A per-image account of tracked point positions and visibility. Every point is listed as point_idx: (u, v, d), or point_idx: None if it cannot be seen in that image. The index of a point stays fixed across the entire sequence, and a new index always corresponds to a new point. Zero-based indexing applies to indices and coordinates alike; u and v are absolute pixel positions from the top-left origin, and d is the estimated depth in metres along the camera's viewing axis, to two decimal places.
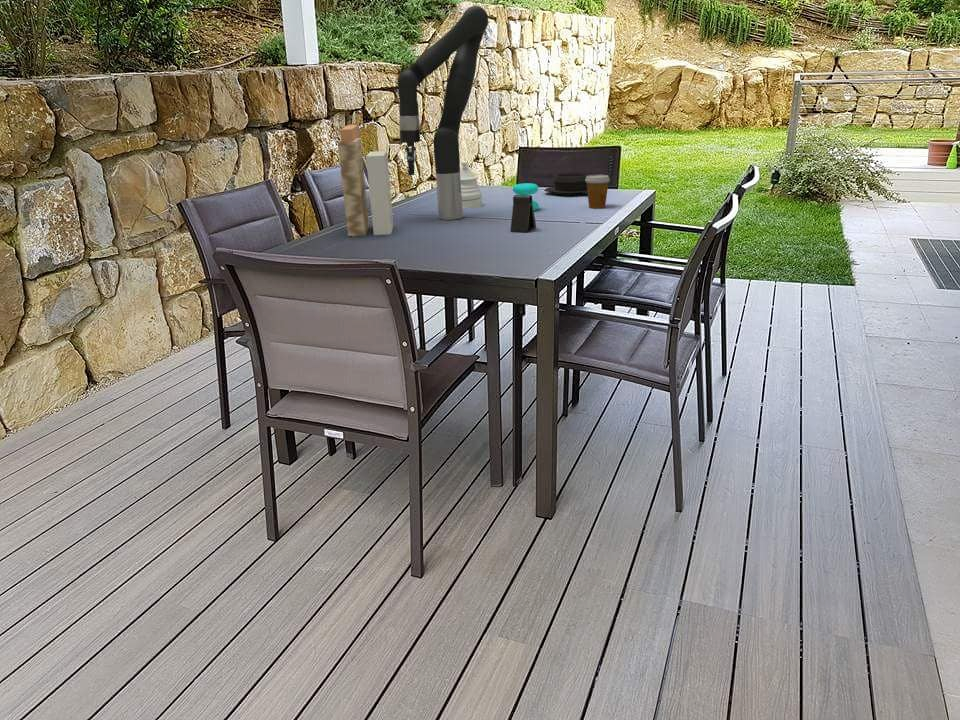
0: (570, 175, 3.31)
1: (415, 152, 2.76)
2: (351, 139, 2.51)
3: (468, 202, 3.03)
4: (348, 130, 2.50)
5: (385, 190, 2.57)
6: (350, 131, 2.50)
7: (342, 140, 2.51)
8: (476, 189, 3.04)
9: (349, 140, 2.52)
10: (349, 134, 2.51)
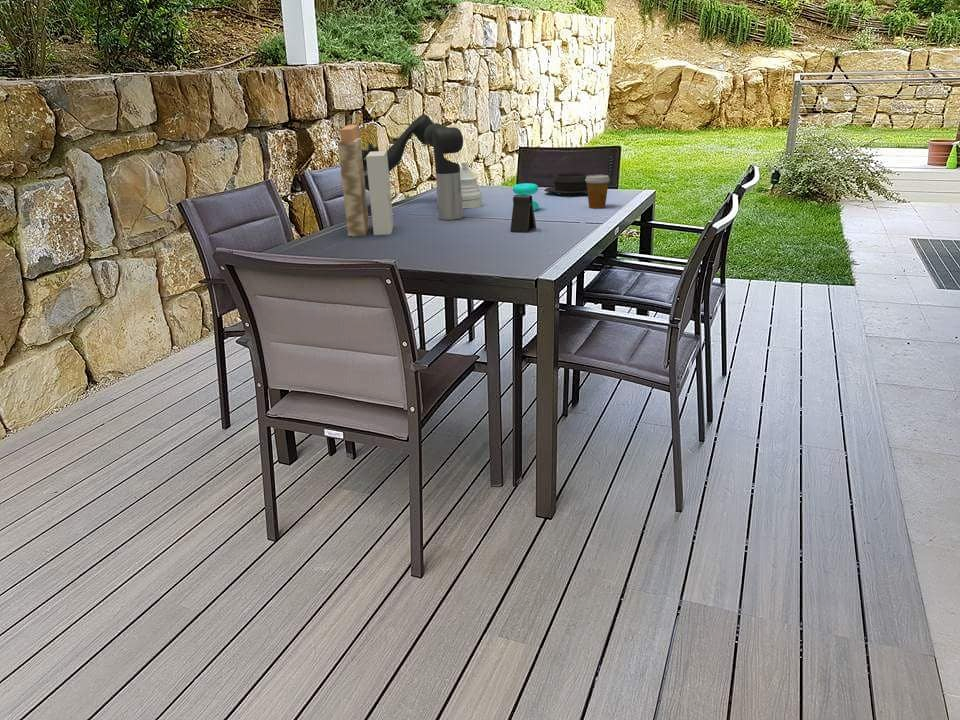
0: (570, 175, 3.31)
1: (364, 158, 2.90)
2: (351, 139, 2.51)
3: (468, 202, 3.03)
4: (348, 130, 2.50)
5: (385, 190, 2.57)
6: (350, 131, 2.50)
7: (342, 140, 2.51)
8: (476, 189, 3.04)
9: (349, 140, 2.52)
10: (349, 134, 2.51)
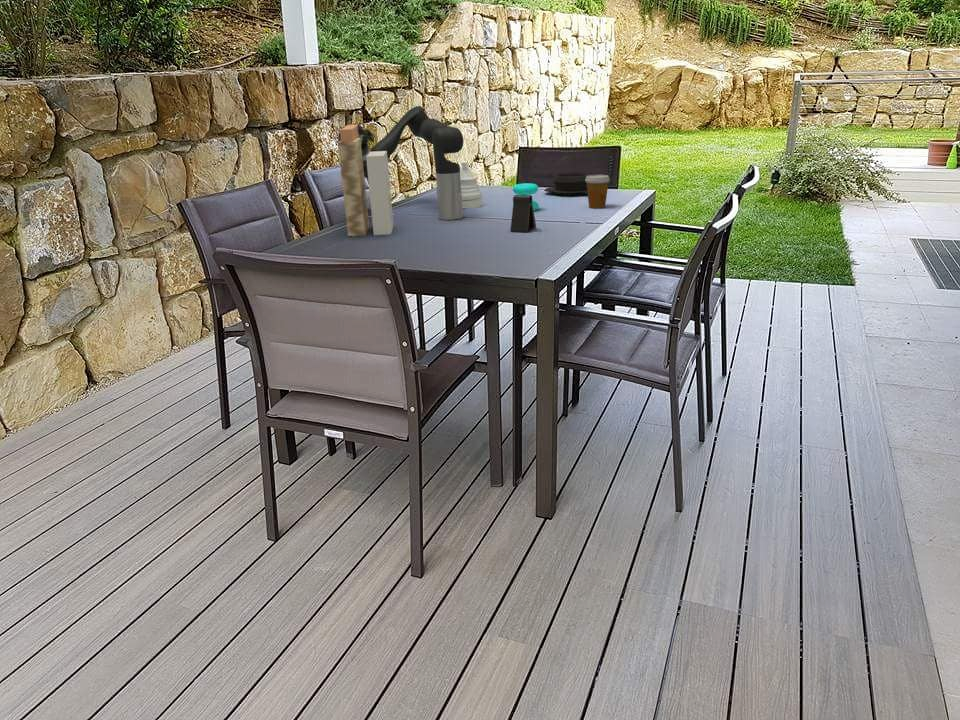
0: (570, 175, 3.31)
1: None
2: (351, 139, 2.51)
3: (468, 202, 3.03)
4: (348, 130, 2.50)
5: (385, 190, 2.57)
6: (350, 131, 2.50)
7: (342, 140, 2.51)
8: (476, 189, 3.04)
9: (349, 140, 2.52)
10: (349, 134, 2.51)
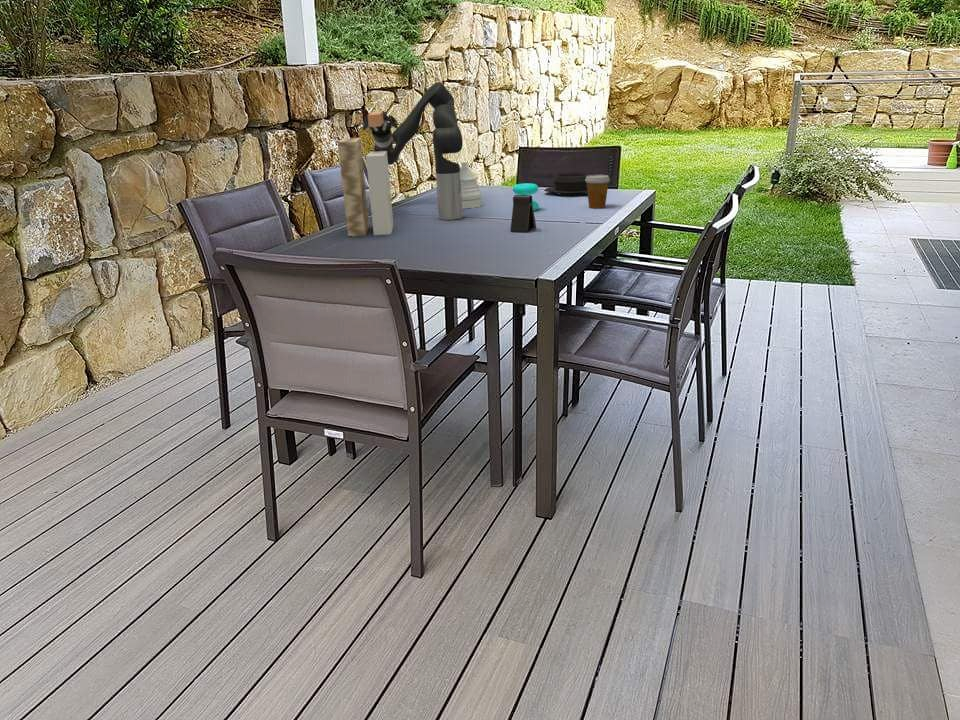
0: (570, 175, 3.31)
1: (382, 128, 2.85)
2: (378, 124, 2.59)
3: (467, 202, 3.03)
4: (376, 115, 2.58)
5: (385, 190, 2.57)
6: (378, 116, 2.58)
7: (370, 125, 2.59)
8: (476, 189, 3.04)
9: (376, 125, 2.59)
10: (377, 119, 2.59)
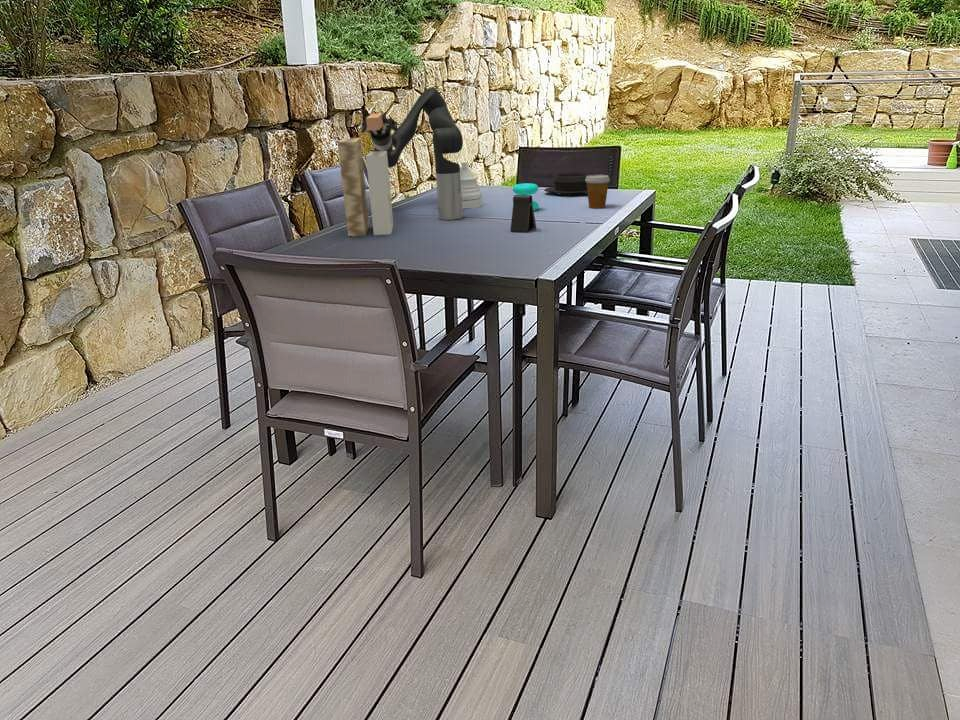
0: (570, 175, 3.31)
1: (382, 131, 2.76)
2: (377, 127, 2.50)
3: (467, 202, 3.03)
4: (374, 118, 2.49)
5: (385, 190, 2.57)
6: (376, 119, 2.50)
7: (368, 128, 2.50)
8: (476, 189, 3.04)
9: (375, 128, 2.51)
10: (375, 122, 2.50)
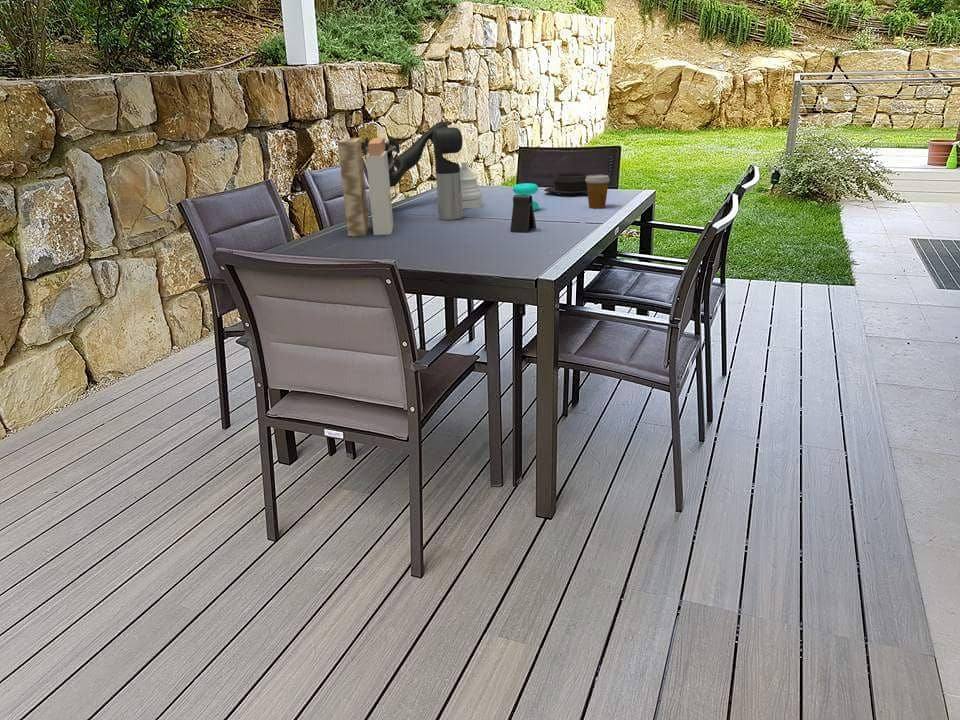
0: (570, 175, 3.31)
1: None
2: (379, 153, 2.54)
3: (467, 202, 3.03)
4: (376, 144, 2.53)
5: (385, 190, 2.57)
6: (378, 145, 2.53)
7: (370, 154, 2.54)
8: (476, 189, 3.04)
9: (377, 154, 2.54)
10: (377, 148, 2.53)
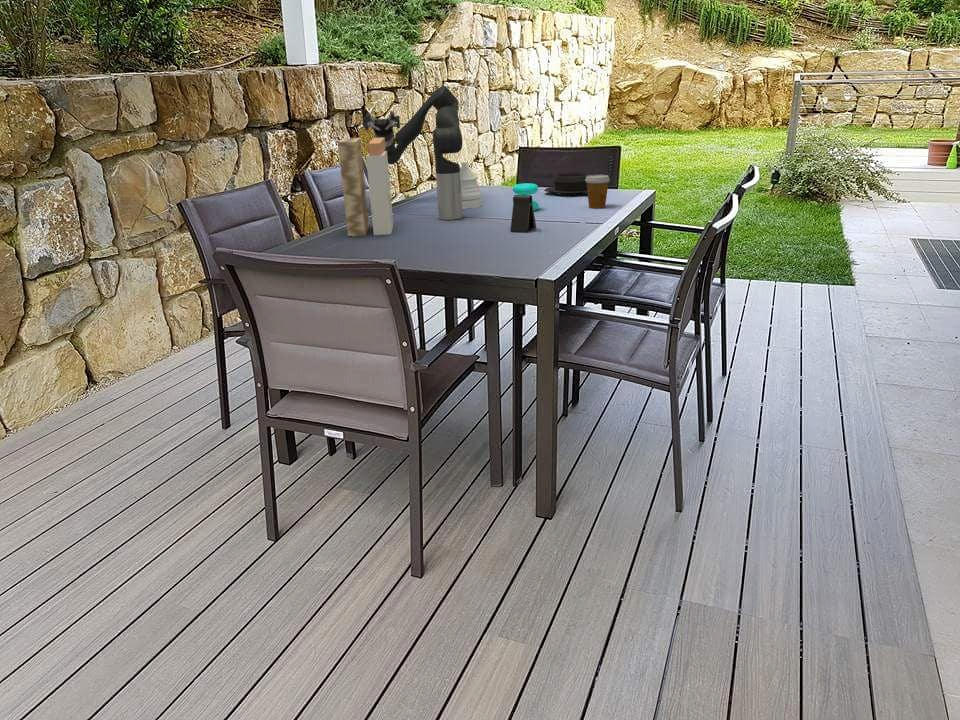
0: (570, 175, 3.31)
1: (386, 127, 2.92)
2: (379, 153, 2.54)
3: (467, 202, 3.03)
4: (376, 144, 2.53)
5: (385, 190, 2.57)
6: (378, 145, 2.53)
7: (370, 154, 2.54)
8: (476, 189, 3.04)
9: (377, 154, 2.54)
10: (377, 148, 2.53)
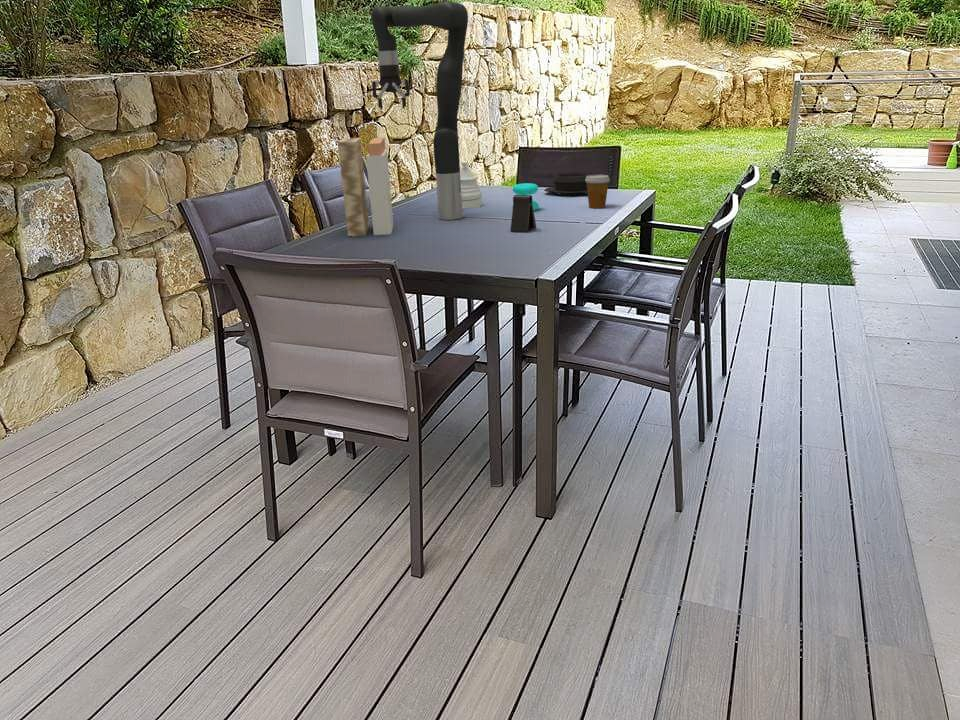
0: (570, 175, 3.31)
1: None
2: (379, 153, 2.54)
3: (467, 202, 3.03)
4: (376, 144, 2.53)
5: (385, 190, 2.57)
6: (378, 145, 2.53)
7: (370, 154, 2.54)
8: (476, 189, 3.04)
9: (377, 154, 2.54)
10: (377, 148, 2.53)
